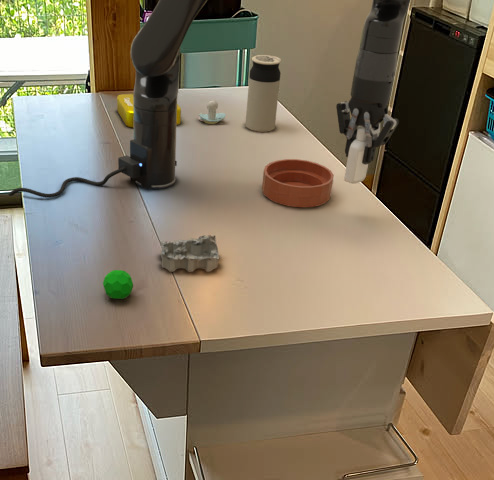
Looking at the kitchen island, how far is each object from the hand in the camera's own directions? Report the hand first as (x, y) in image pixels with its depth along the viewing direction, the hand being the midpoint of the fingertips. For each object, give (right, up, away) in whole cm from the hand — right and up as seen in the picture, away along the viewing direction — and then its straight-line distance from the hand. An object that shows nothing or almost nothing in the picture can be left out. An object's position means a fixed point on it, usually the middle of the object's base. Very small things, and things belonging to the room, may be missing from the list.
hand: (358, 159), depth 144 cm
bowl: (-11, -4, +15) cm, 19 cm away
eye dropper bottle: (0, -4, +3) cm, 4 cm away
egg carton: (-34, -22, -13) cm, 42 cm away
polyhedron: (-46, -29, -23) cm, 59 cm away
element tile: (-47, +23, +50) cm, 72 cm away
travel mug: (-16, +20, +48) cm, 55 cm away
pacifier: (-30, +22, +50) cm, 62 cm away
